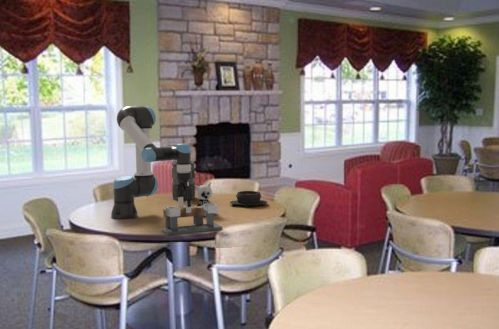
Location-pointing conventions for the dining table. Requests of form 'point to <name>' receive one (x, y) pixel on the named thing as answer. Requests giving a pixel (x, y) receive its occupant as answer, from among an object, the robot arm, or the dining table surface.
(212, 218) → the bracket stand
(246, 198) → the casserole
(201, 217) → the rests
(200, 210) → the rail
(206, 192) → the decorative figurine
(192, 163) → the canister
